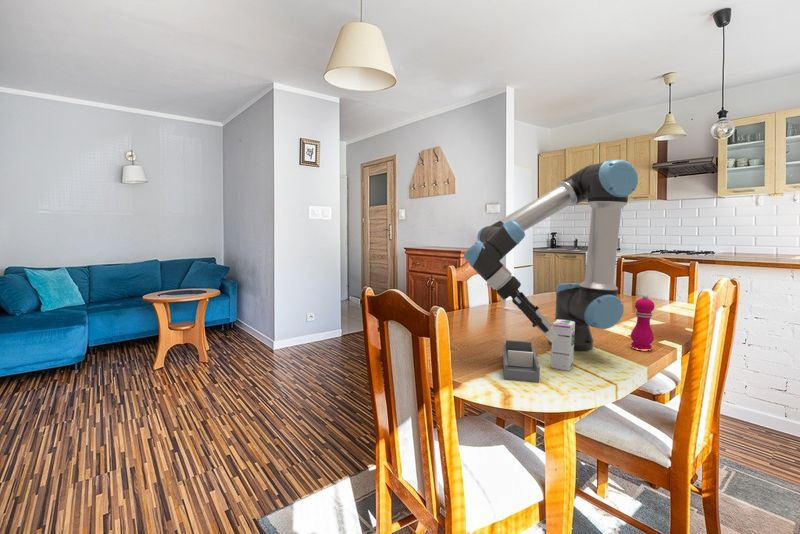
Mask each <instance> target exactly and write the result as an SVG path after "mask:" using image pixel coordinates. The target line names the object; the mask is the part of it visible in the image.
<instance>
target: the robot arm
mask: <svg viewBox="0 0 800 534" xmlns="http://www.w3.org/2000/svg"><path fill="white" fill-rule="evenodd" d="M638 184H639V175H638V172H637V170H636V168H635V167H634V166H633V165H632V164H631V162H629V161H628V160H627V161H626V160H625V159H612V160H611V159H609V160H606V161H603V162H598V163H595V164H594V163H593V164H590V165H587V166H585V167H583V168H580V169H579V170H578V171H576V172H574V173H573V174H571V175H570V176H568V177H566V178H565V179H563V180H561V181H559V183H558V184H557V187H555V188H553V189H552V190H549V191H548V192H546V193H544V194H543V195H542V196H539V197H538V198H536V199H534V200H533V201H530V202H529V203H528V204H526V205H524V206H522V207H521V208H519V209H517V210H515V211H514V212H512V213H510V214H508V215H506V216H505V217H503V218H502V219H500V220H497V222H494V223H493V224H491V225H488V226H484V227H482V228H480V229H479V231H478V232H477V236H476V237H477V240H476V242H475V243H473V244H472V245H471V246H470V247H469V248H468V249H467V250H466V251H465V252H464V253H463V259H465V260H466V261H467V263H468V264H469V265H470V267H471V268H472V269H474V271H475V272H476V273H477V274H479V276H480V277H481V278H482V279H483V280H484V281H485V282H486V286H487V287H489V286H490V287H491V288H492V290H496V291H495V293H496V294H497V295H498V296H499V297H500V298H501V299H502V300H506V299H508V298H509V297H510V298H511V302H512V303H513V304H514V305H515V306H516V307H517V308H518V310H519V311H521V312H522V313H523V314H524V315H525V317H526V318H527V319H528V320H529V321H530V322H531V324H532V325H531V327H533V328H535V327H536V329H538V330H539V331H540V332H541V333H542V335H544V337H546V339H547V340H548V344H550V345H551V346H552V341H553V340H555V339H556V338H557V337H558V335H557V334H556V333H555V332H554V331H553V330H552V323H551V322H550V321H549V320H548V319H547V318H546V317H545V315H544V314H542V313H541V312H540V311H539V306H537V305H534V304H533V303H532V302H531V301H530V300H529V299H528V298H527V296H526V295H525V294H524V293H523V292H522V291H520V290H519V289H520V287H521V285H522V284H521V282H520V280H518V279H517V277H516V276H513V275H512V272H511V271H510V270H509V269H508V268H507V267H506V265H504V264H503V263H502V262H501V260H502V259H504V258H505V256H506V255H508V254H509V253H510V252H511V251H513V249H514V248H515V247H516V246H518V245H520V243H521V242H522V241H523V239H525V237H526V232H525V231H527V230H529V229H530V228H532V227H533V226H535V225H537V224H539V223H540V222H542V221H544V220H546V219H547V218H550V217H551V216H553V215H554V214H556V213H558V212H560V211H562V210H563V209H565V208H566V207H568V206H570V207H574V206H576V205H578V204H579V203H582V202H585V201H587V204H588V205H589V206H590V208H591V215H590V222H589V223H590V224H589V235H588V246H587V254H586V263H585V264H586V265H585V274H584V279H583V281H582V282H578V283H577V282H569V283H568V282H564V283H563V282H562V283H559V284H558V285H556V293H555V294H556V299H555V317H554V318H555V319H554V321H556V320H557V319H559V320H570V321H574V322H575V335H574V351H589V350H592V349H593V348H594V338H593V334H592V331H591V329H590V328H595V329H598V330H599V329H600V330H607V329H610V328H612V327H615V325H617V324H618V323H619V322H620V321H621V319H622V318H623V315H624V303H623V302H622V300H621V299H620V298H619V297H618V294H619V293H618V292H619V288H618V287H617V285H616V284H615V283H614V280H615V279H614V278H615V270H616V262H617V261H616V260H617V253H618V245H619V244H618V243H619V236H620V235H619V232H620V225H621V224H620V223H621V217H622V216H621V215H622V209H623V208H624V207H625V206H627V205H628V199H629V196H631V194H633V192H634V191H636V189H637V187H638Z"/></svg>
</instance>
